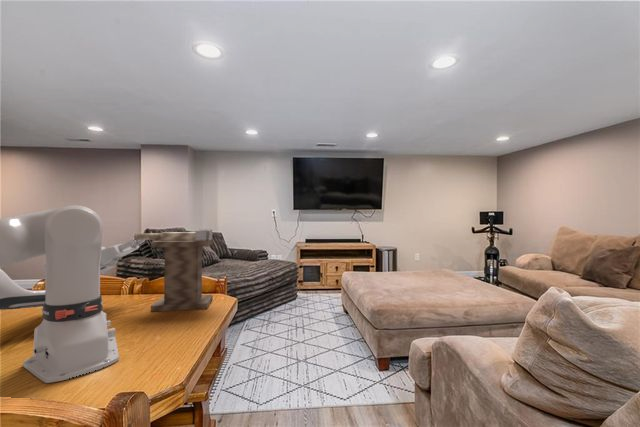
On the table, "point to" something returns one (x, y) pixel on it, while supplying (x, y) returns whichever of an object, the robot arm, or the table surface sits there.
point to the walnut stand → (182, 276)
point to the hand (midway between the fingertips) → (139, 240)
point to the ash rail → (166, 236)
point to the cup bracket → (203, 235)
